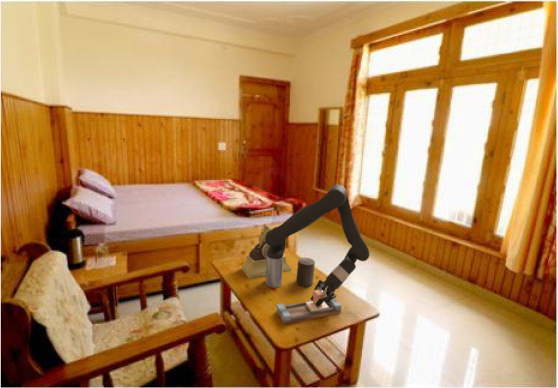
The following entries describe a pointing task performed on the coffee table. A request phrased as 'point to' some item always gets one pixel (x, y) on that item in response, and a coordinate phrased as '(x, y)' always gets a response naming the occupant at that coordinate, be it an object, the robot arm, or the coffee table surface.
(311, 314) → the rail
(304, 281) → the pillar candle
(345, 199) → the robot arm
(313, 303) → the carriage
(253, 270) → the decorative clock
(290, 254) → the coffee table surface
